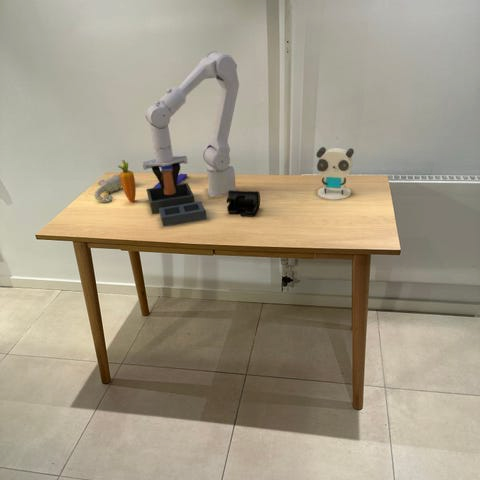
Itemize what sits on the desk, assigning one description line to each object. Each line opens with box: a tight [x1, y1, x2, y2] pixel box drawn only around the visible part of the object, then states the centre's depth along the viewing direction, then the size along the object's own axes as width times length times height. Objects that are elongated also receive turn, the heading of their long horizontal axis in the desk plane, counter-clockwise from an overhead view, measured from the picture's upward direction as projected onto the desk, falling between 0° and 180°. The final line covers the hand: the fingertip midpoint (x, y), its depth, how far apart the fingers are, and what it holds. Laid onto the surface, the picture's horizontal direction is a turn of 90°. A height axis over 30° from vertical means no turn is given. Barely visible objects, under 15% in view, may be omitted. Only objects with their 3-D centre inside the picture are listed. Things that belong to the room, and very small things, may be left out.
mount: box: [152, 165, 188, 188], centre depth 176 cm, size 15×8×9 cm, turn 163°
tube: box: [160, 169, 176, 195], centre depth 158 cm, size 4×4×8 cm
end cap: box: [226, 189, 261, 218], centre depth 153 cm, size 10×7×7 cm
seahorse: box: [94, 173, 136, 203], centre depth 174 cm, size 5×12×20 cm
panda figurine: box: [315, 146, 355, 201], centre depth 158 cm, size 12×11×15 cm
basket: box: [146, 182, 196, 215], centre depth 162 cm, size 15×13×5 cm
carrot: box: [117, 159, 137, 203], centre depth 162 cm, size 5×5×15 cm
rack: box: [158, 200, 207, 227], centre depth 152 cm, size 8×14×4 cm, turn 105°
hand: (168, 186), depth 159 cm, fingers closed on tube, 4 cm apart
